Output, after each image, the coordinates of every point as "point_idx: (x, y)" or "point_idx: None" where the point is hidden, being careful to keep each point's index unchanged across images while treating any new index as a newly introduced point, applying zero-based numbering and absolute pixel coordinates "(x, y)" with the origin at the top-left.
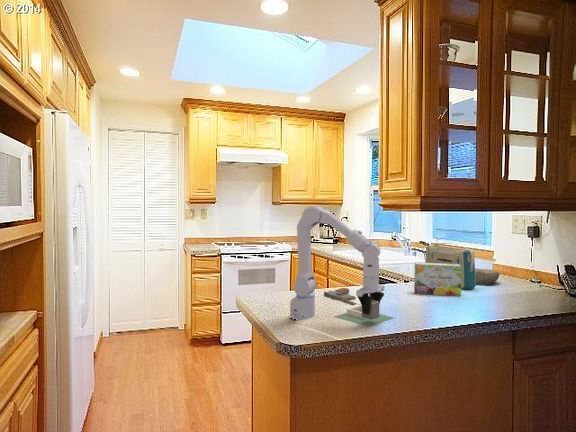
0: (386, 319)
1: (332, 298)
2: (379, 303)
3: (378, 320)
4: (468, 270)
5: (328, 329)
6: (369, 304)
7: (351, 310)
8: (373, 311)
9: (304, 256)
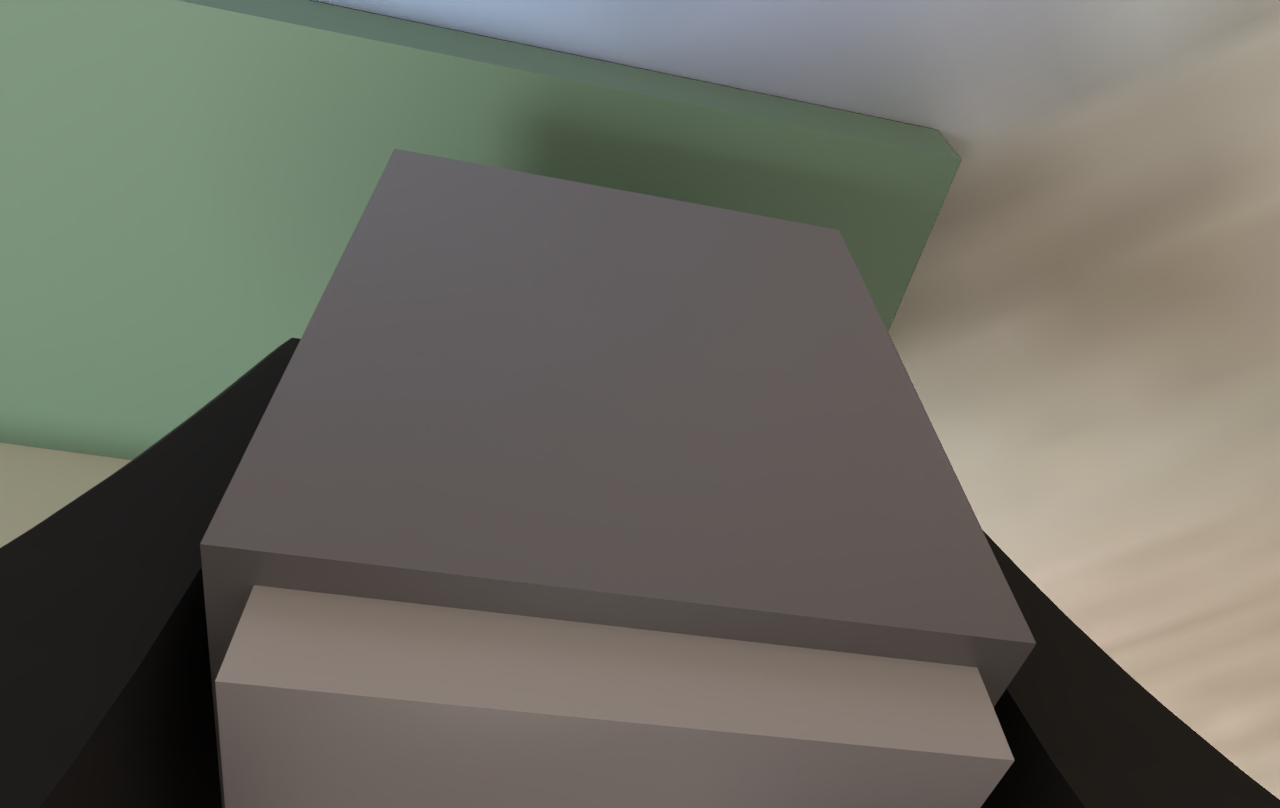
0: None
1: None
2: (53, 530)
3: (229, 195)
4: None
5: (1225, 686)
6: (1122, 741)
7: None
8: (808, 365)
9: None
